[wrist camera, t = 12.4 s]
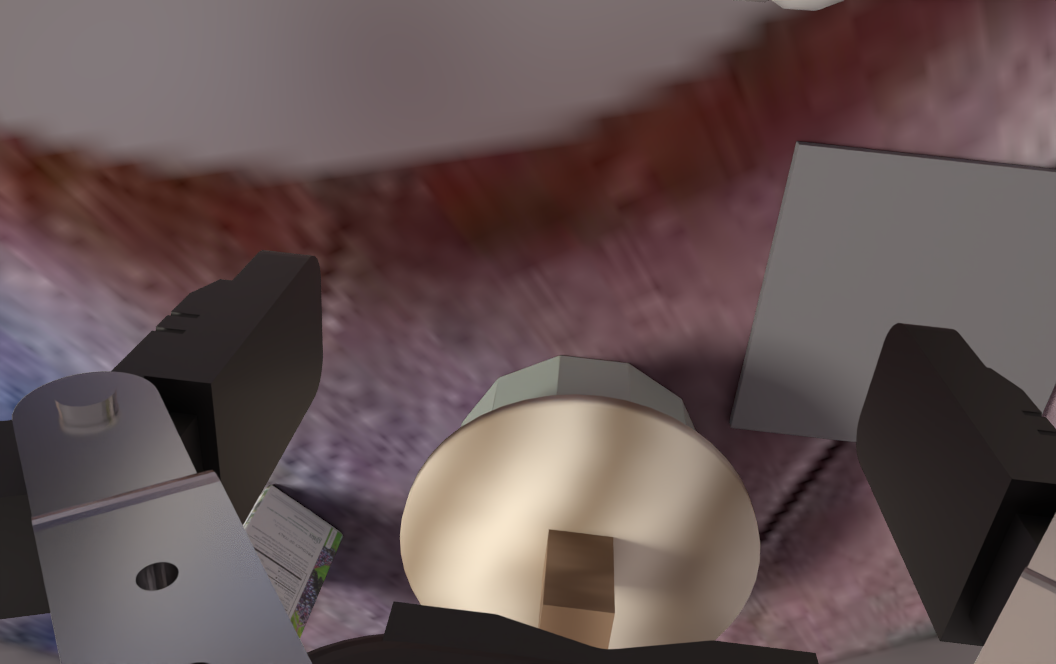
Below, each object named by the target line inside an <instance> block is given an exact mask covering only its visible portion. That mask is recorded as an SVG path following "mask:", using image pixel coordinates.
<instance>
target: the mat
mask: <svg viewBox="0 0 1056 664" xmlns="http://www.w3.org/2000/svg"><path fill="white" fill-rule="evenodd" d="M897 323H904V324H913V325H922V326H931V327H940V328H949V329H954V330H956V331H957V332H958V333H959V334H960V335H961V336H962V338H963V339H964V340H965V341H966V342H967V344H968V345H969V346H970V347H971V349H972V350H973V351H974V352H975V354H976V355H977V356H978V357H979V359H980V360H981V361H982V362H983V364H984V365H985V366H986V367H987V368H991V369H993V370H994V371H996V372H997V373H999V374H1000V375H1002V376H1003V377H1005V378H1006V379H1008V380H1009V381H1011V382H1012V383H1014V384H1015V385H1016V386H1018V387H1019V388H1021V389H1022V390H1023V391H1024V392H1025V393H1026V394H1027V395H1028V397H1029V398H1030V399H1031V400H1032V401H1033V403H1034V404H1035V405H1036V406H1037V407H1038V408H1039V410H1040V411H1041V412H1042V413H1043V411H1044V409H1045V407H1046V404H1047V402H1048V400H1049V398H1050V395H1051V393H1052V391H1053V389H1054V386H1055V384H1056V169H1050V168H1041V167H1031V166H1022V165H1013V164H1004V163H994V162H985V161H976V160H966V159H957V158H948V157H939V156H929V155H920V154H911V153H901V152H892V151H883V150H874V149H864V148H855V147H846V146H837V145H827V144H818V143H809V142H799V141H797V142H796V146H795V150H794V154H793V159H792V163H791V167H790V171H789V175H788V179H787V184H786V188H785V192H784V196H783V200H782V204H781V209H780V213H779V217H778V221H777V225H776V229H775V234H774V238H773V242H772V246H771V250H770V254H769V259H768V263H767V267H766V271H765V275H764V279H763V284H762V288H761V292H760V296H759V300H758V304H757V309H756V313H755V317H754V321H753V325H752V329H751V334H750V338H749V342H748V346H747V350H746V354H745V358H744V363H743V367H742V371H741V375H740V379H739V383H738V388H737V392H736V396H735V400H734V404H733V408H732V413H731V417H730V421H729V423H730V427H731V428H737V429H746V430H754V431H763V432H771V433H780V434H789V435H797V436H806V437H815V438H823V439H832V440H840V441H849V442H856V434H857V426H858V421H859V417H860V414H861V411H862V408H863V405H864V402H865V399H866V396H867V392H868V389H869V386H870V383H871V380H872V377H873V374H874V371H875V368H876V365H877V362H878V359H879V355H880V352H881V349H882V346H883V343H884V340H885V338H886V336H887V333H888V332H889V330H890V329H891V328H892V326H893V325H895V324H897Z"/></svg>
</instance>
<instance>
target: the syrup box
mask: <svg viewBox="0 0 1056 664" xmlns="http://www.w3.org/2000/svg"><path fill="white" fill-rule="evenodd" d="M243 527H244V529H245V531H246V533H247V535H248V537H249V539H250V541H251V543H252V545H253V547H254V549H255V551H256V553H257V555H258V557H259V559H260V561H261V563H262V565H263V567H264V569H265V571H266V573H267V575H268V577H269V579H270V581H271V583H272V585H273V587H274V589H275V591H276V593H277V595H278V597H279V599H280V601H281V603H282V605H283V607H284V609H285V611H286V613H287V615H288V617H289V619H290V621H291V622H292V624H293V626H294V628H295V630H296V632H297V634H298V636H299V638H300V637H301V635H302V632H303V630H304V627H305V625H306V623H307V620H308V618H309V616H310V613H311V611H312V608H313V606H314V604H315V601H316V599H317V596H318V594H319V592H320V589H321V587H322V584H323V582H324V580H325V578H326V575H327V573H328V570H329V568H330V566H331V563H332V561H333V559H334V556H335V554H336V551H337V549H338V547H339V544H340V542H341V540H342V538H343V535H342V533H341V532H340V531H338V530H337V529H335V528H334V527H333V526H331V525H330V524H328V523H327V522H325V521H324V520H323V519H321V518H320V517H318V516H317V515H315V514H314V513H313V512H311V511H310V510H308V509H307V508H305V507H304V506H302V505H301V504H299V503H298V502H296V501H295V500H293V499H292V498H290V497H289V496H287V495H286V494H284V493H283V492H281V491H280V490H278V489H277V488H276V487H274V486H273V485H270V486H269V487H267V488H266V489H265V491H264V492H263V493H262V494H261V495H260V496H259V498H258V499H257V501H256V503H255V505H254V507H253V508H252V510H251V512H250V514H249V516H248V517H247V519H246V521H245V523H244V525H243Z"/></svg>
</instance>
